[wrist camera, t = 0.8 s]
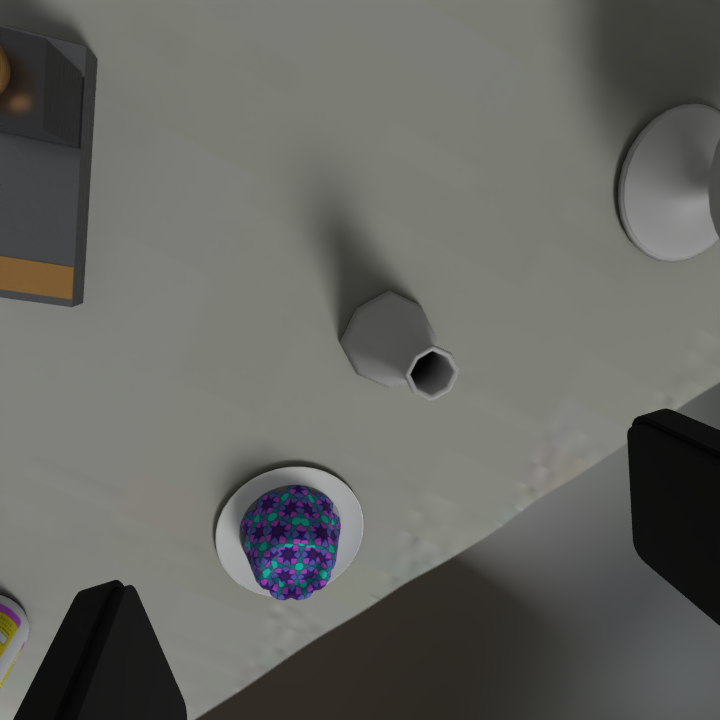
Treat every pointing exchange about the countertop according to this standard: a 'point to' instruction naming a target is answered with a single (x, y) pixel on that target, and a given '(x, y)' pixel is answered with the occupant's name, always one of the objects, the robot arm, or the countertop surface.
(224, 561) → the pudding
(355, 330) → the flask
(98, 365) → the countertop surface
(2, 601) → the supplement bottle
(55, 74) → the handle
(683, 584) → the robot arm
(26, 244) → the rail
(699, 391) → the countertop surface
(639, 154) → the chalice
